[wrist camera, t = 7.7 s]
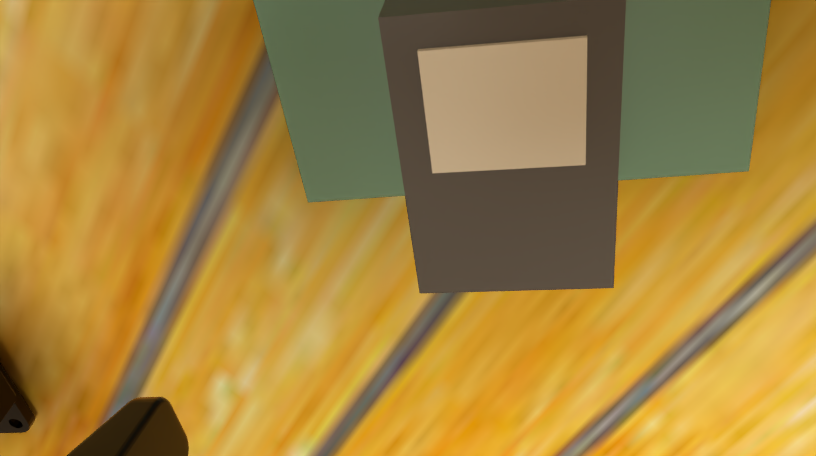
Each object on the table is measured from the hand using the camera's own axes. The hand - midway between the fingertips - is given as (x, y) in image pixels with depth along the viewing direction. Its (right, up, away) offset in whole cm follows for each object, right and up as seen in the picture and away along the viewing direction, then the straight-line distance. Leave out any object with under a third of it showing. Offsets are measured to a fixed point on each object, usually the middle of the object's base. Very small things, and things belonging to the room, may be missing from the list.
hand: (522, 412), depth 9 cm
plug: (+1, +6, +8) cm, 10 cm away
